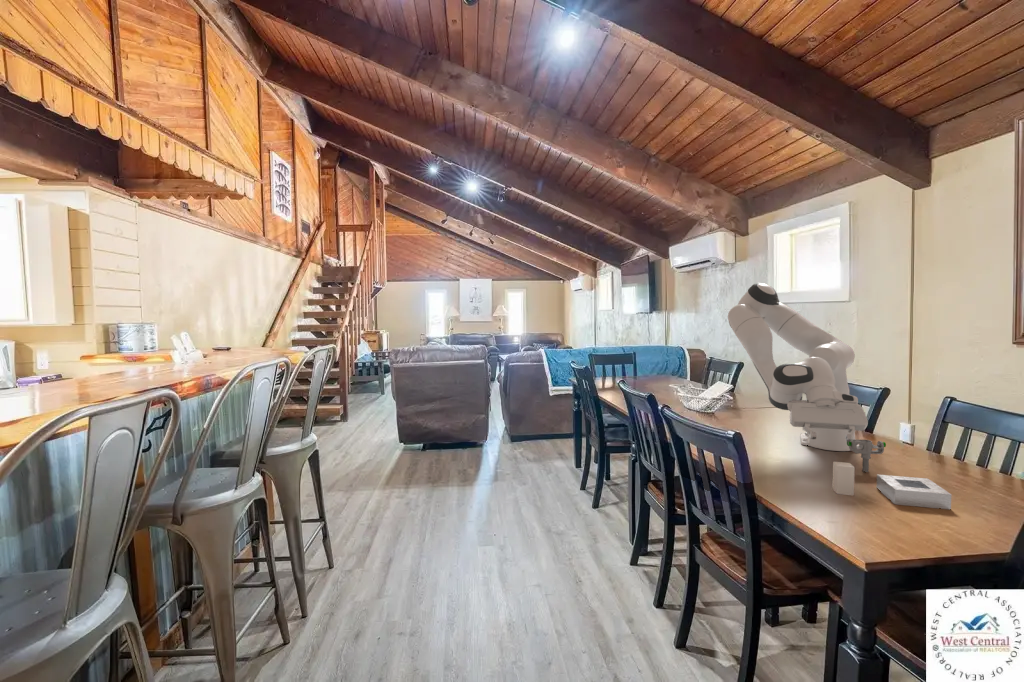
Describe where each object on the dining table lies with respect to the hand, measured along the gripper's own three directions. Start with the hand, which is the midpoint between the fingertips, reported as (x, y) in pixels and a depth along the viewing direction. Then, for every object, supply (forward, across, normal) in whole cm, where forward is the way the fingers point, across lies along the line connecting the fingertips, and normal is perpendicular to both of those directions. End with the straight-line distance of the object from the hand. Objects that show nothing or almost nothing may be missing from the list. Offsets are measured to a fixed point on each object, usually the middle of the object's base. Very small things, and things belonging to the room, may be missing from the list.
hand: (831, 439), depth 144 cm
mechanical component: (+1, +12, +17) cm, 21 cm away
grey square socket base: (+15, +17, +2) cm, 23 cm away
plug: (+16, +1, +2) cm, 16 cm away
